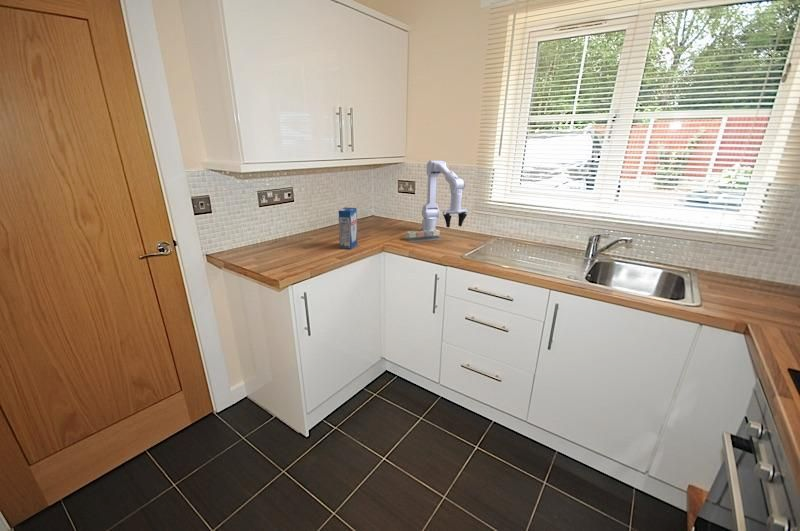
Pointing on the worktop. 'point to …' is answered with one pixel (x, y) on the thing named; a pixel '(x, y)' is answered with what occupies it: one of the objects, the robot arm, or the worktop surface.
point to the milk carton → (348, 228)
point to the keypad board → (423, 238)
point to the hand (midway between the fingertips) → (453, 226)
